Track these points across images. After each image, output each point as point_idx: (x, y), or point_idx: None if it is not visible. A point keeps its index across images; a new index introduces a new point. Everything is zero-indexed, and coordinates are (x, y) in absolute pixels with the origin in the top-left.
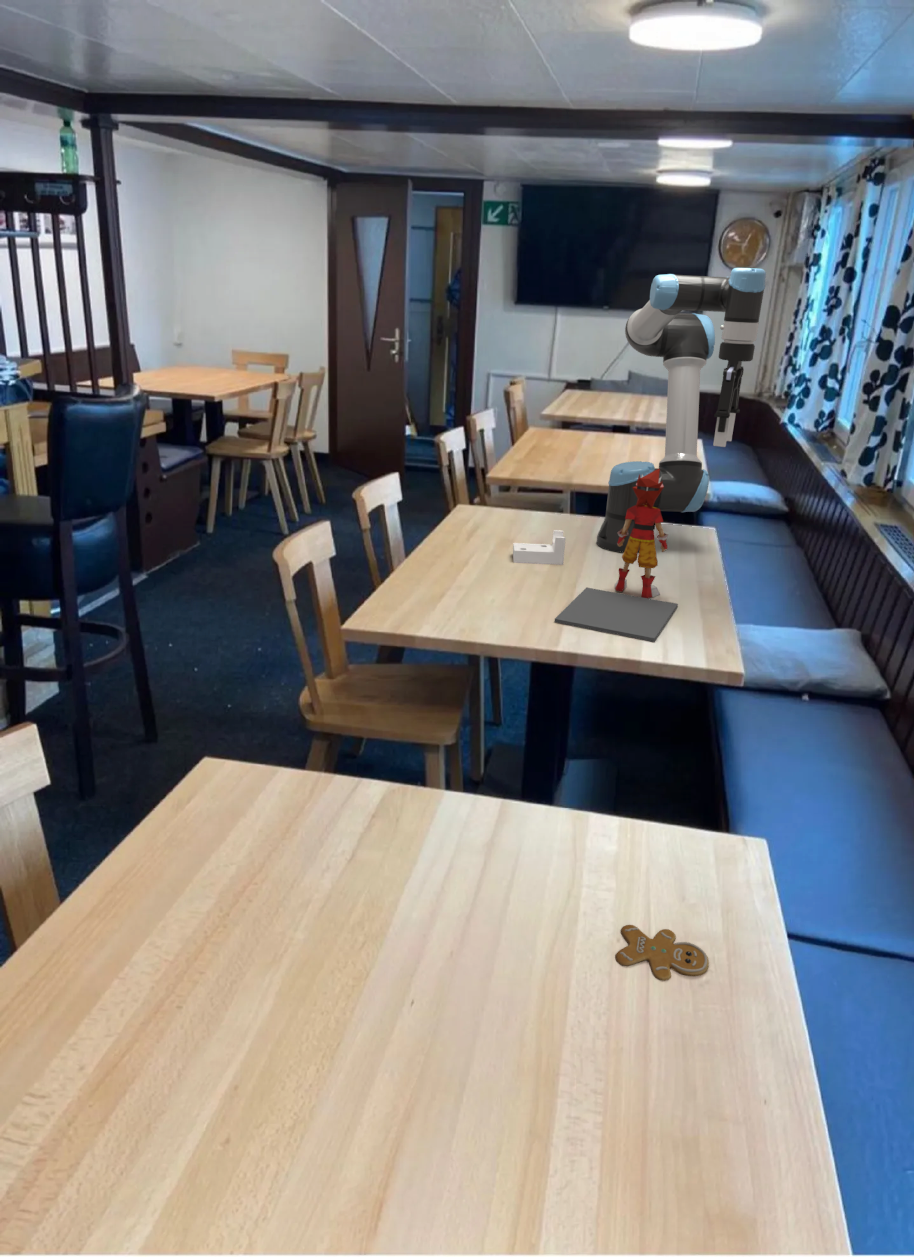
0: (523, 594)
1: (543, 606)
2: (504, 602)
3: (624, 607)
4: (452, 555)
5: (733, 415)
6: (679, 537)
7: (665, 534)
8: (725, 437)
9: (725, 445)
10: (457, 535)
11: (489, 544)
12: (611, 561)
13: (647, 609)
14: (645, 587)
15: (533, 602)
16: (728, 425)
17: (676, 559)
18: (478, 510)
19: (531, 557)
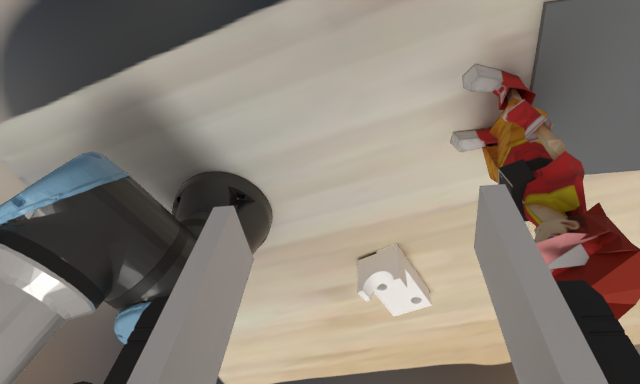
0: None
1: (632, 198)
2: None
3: (616, 89)
4: (444, 342)
5: (168, 378)
6: None
7: (537, 125)
8: (525, 236)
9: (497, 190)
10: (357, 361)
11: (368, 330)
12: (327, 197)
13: (614, 46)
14: (521, 90)
15: (616, 215)
16: (570, 316)
17: (224, 113)
18: (236, 376)
19: (419, 281)
